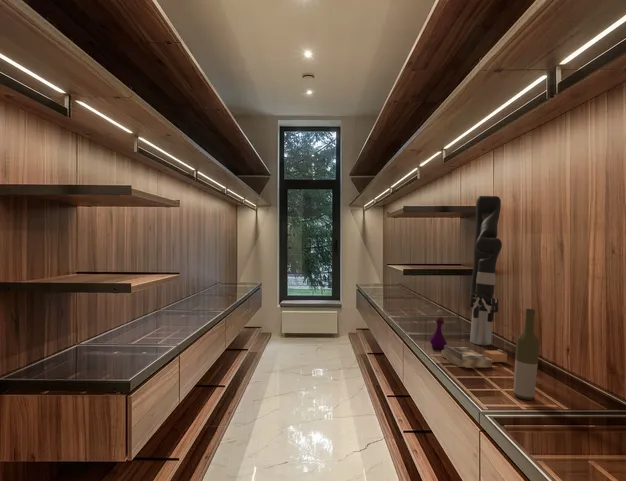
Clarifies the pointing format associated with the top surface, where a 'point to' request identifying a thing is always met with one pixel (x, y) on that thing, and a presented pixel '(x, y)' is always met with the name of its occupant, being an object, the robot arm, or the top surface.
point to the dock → (465, 357)
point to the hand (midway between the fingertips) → (482, 319)
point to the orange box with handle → (496, 356)
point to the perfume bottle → (438, 334)
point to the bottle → (526, 360)
